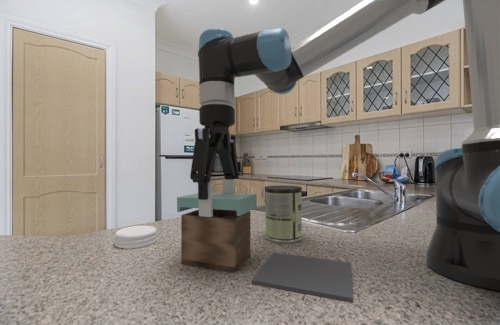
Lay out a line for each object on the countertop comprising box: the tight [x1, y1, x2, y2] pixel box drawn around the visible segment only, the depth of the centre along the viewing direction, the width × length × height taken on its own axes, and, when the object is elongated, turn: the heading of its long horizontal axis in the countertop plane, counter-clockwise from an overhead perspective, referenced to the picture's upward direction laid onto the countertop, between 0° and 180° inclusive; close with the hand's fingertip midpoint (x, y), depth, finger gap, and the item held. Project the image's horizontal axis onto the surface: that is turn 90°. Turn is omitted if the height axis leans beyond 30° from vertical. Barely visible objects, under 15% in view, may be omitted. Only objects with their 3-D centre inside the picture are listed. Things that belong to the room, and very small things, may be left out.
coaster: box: [114, 225, 158, 250], centre depth 64 cm, size 10×10×4 cm
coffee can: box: [264, 185, 303, 244], centre depth 68 cm, size 10×10×14 cm
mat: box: [251, 252, 354, 303], centre depth 45 cm, size 16×14×1 cm
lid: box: [176, 192, 258, 216], centre depth 52 cm, size 14×10×3 cm
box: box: [180, 209, 251, 273], centre depth 52 cm, size 12×8×10 cm
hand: (218, 211), depth 52 cm, fingers closed on lid, 9 cm apart
